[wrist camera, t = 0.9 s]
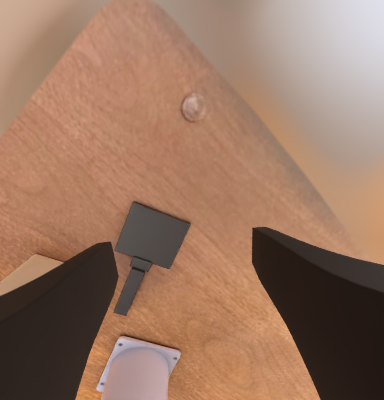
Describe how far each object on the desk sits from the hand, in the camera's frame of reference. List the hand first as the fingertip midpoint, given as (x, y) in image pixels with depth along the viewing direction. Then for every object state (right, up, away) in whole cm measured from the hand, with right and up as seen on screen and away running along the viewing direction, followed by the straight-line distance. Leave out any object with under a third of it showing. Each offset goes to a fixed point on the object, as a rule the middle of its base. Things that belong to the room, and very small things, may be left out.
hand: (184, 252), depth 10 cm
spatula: (-5, -4, +11) cm, 13 cm away
